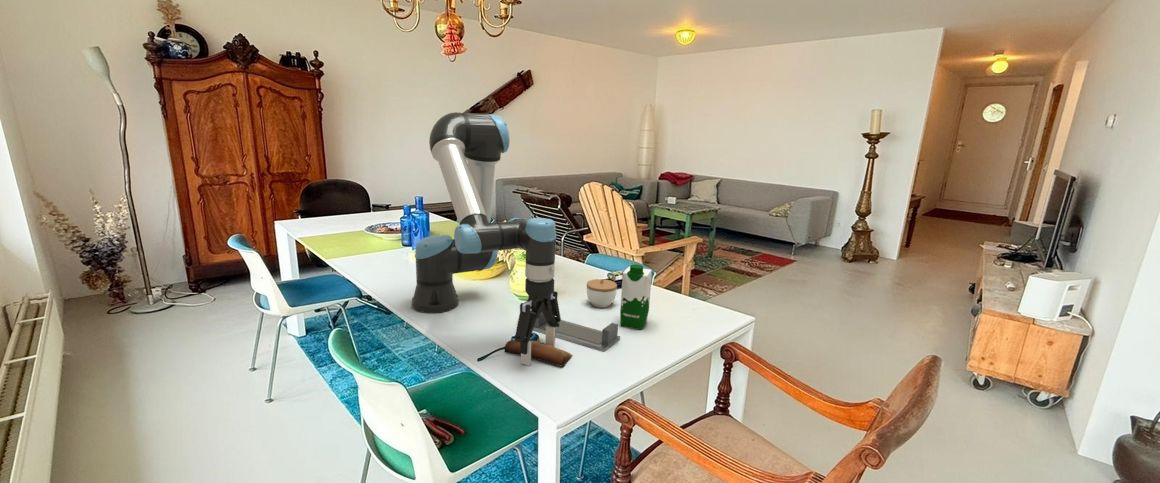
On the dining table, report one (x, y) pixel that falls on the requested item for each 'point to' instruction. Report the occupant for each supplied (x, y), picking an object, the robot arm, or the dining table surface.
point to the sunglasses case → (541, 352)
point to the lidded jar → (601, 292)
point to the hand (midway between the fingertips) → (538, 355)
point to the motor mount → (581, 333)
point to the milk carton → (635, 297)
